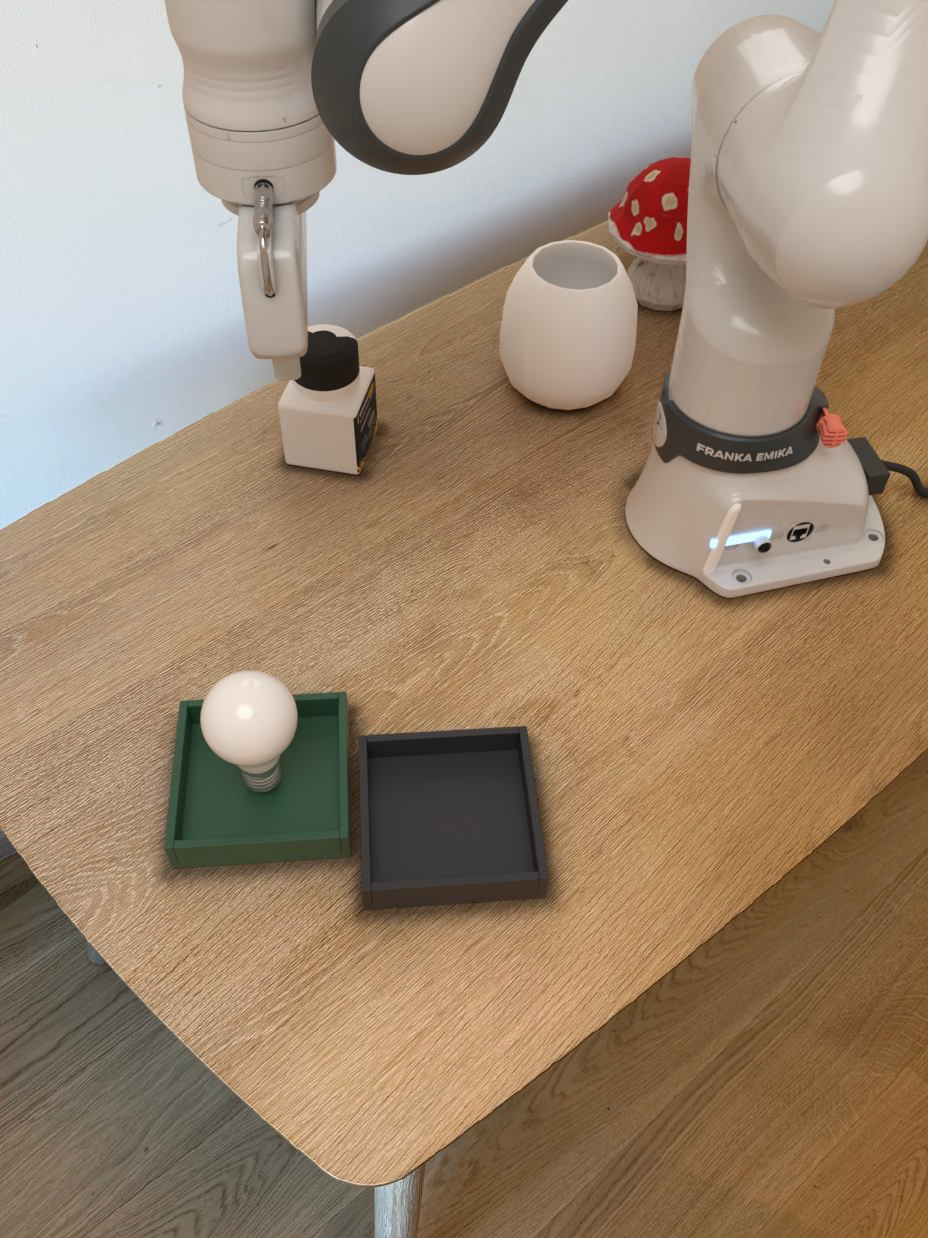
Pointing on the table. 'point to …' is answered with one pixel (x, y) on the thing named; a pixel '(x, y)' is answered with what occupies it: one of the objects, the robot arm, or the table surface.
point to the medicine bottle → (329, 405)
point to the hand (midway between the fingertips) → (288, 333)
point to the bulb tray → (263, 794)
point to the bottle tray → (449, 818)
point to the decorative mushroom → (655, 232)
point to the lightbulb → (250, 725)
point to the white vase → (569, 325)
